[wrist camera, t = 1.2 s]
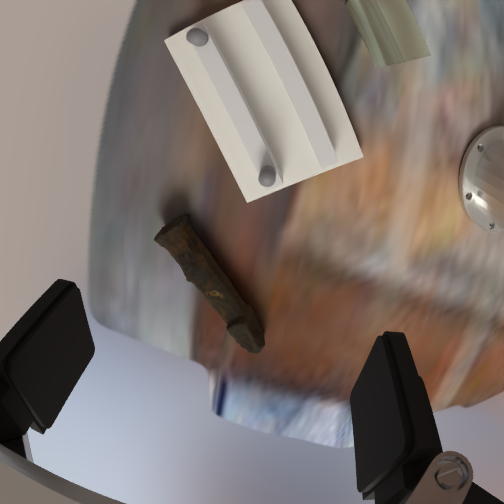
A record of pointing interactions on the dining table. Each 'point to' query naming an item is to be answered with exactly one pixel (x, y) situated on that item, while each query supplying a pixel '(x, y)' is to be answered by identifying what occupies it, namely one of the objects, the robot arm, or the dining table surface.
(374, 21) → the rectangular block
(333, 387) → the dining table surface
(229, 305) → the hand tool
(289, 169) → the slider channel
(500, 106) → the dining table surface
